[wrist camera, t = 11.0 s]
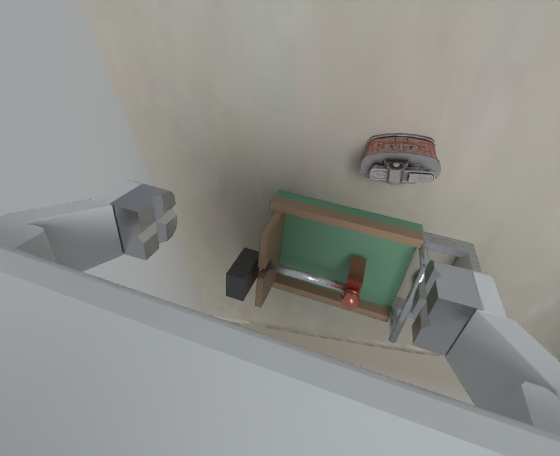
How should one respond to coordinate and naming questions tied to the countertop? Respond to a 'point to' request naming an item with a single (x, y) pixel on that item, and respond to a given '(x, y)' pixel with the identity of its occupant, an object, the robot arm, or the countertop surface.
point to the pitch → (335, 251)
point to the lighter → (401, 159)
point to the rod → (247, 272)
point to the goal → (432, 242)
